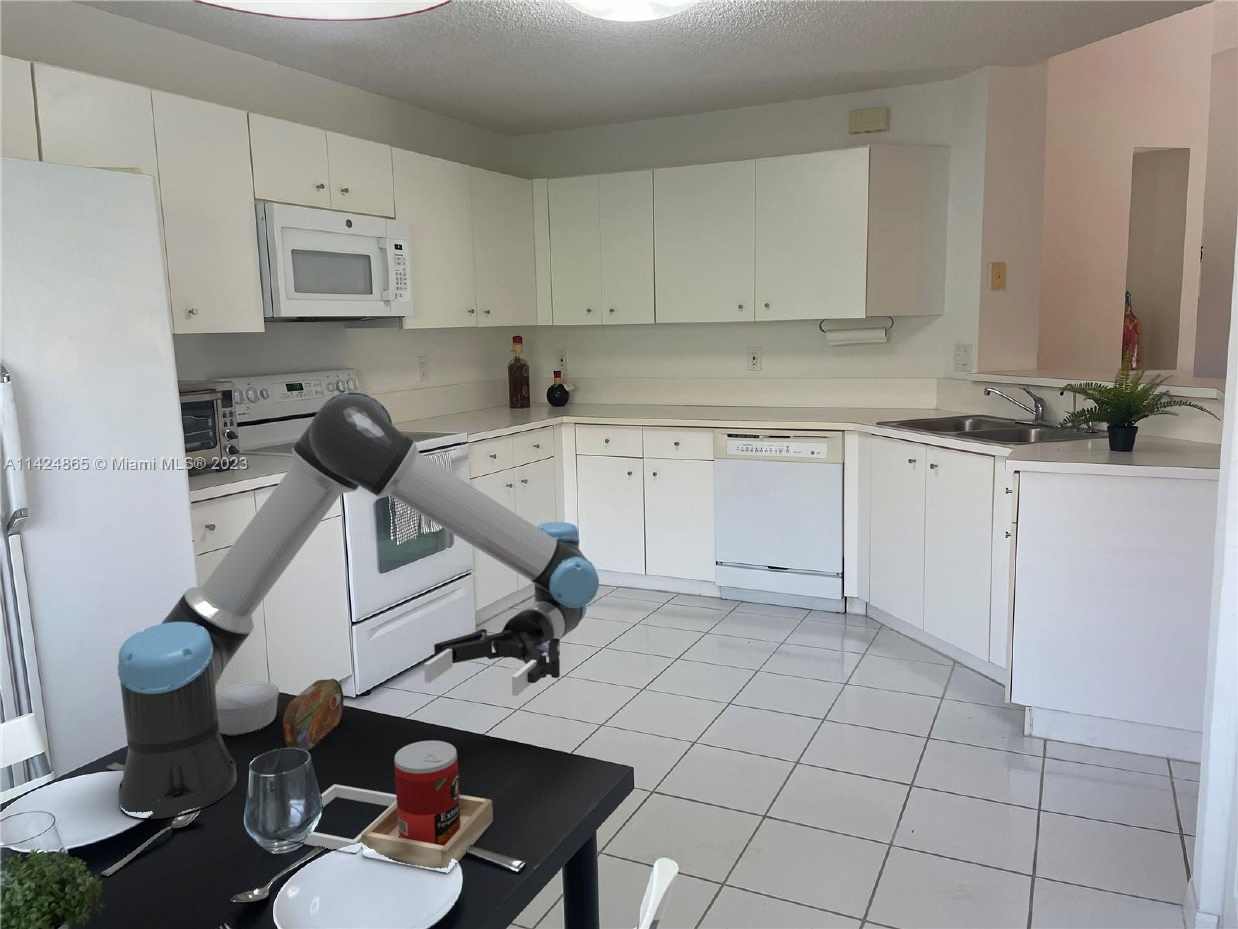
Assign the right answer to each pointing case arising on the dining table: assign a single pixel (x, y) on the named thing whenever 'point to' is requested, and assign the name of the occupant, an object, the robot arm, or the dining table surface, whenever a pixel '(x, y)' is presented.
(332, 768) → the dining table surface
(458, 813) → the canned food
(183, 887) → the dining table surface
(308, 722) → the tin
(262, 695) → the ramekin
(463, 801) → the tray
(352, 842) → the grey plastic frame
